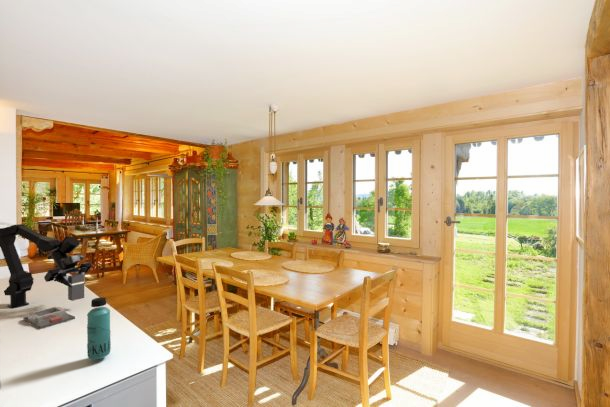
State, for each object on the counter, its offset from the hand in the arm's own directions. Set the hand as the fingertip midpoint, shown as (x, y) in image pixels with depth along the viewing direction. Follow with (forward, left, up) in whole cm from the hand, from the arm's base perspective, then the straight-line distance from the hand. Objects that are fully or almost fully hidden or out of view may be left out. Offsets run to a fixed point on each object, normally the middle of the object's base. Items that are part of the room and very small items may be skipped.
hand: (78, 285), depth 146 cm
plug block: (-1, 0, -7) cm, 7 cm away
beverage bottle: (+58, -18, -12) cm, 62 cm away
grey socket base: (+3, -12, -12) cm, 17 cm away
